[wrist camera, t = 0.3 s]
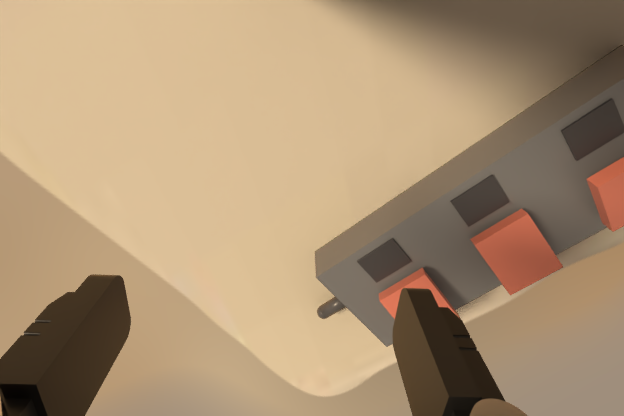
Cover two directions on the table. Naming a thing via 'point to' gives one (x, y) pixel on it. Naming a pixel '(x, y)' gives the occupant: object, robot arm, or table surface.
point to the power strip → (485, 200)
